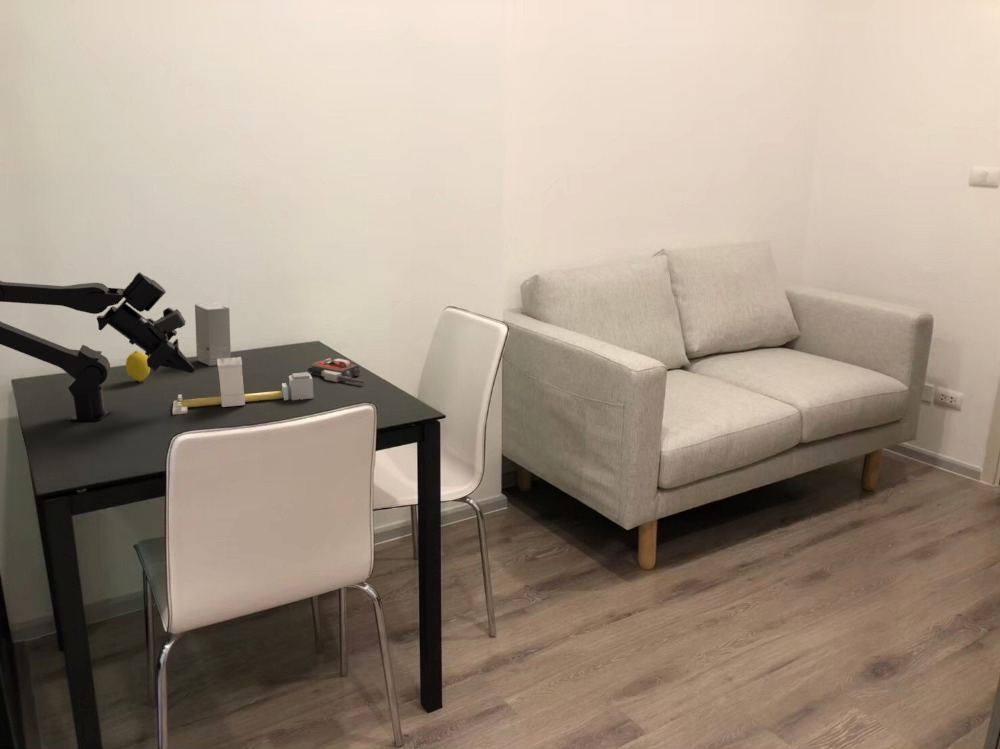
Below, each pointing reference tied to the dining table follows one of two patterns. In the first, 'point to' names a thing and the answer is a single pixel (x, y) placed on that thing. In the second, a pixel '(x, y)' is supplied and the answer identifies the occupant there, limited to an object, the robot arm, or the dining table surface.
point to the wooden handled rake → (182, 405)
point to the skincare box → (212, 332)
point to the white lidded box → (231, 381)
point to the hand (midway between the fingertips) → (193, 370)
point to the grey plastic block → (298, 387)
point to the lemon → (137, 366)
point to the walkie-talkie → (336, 370)
